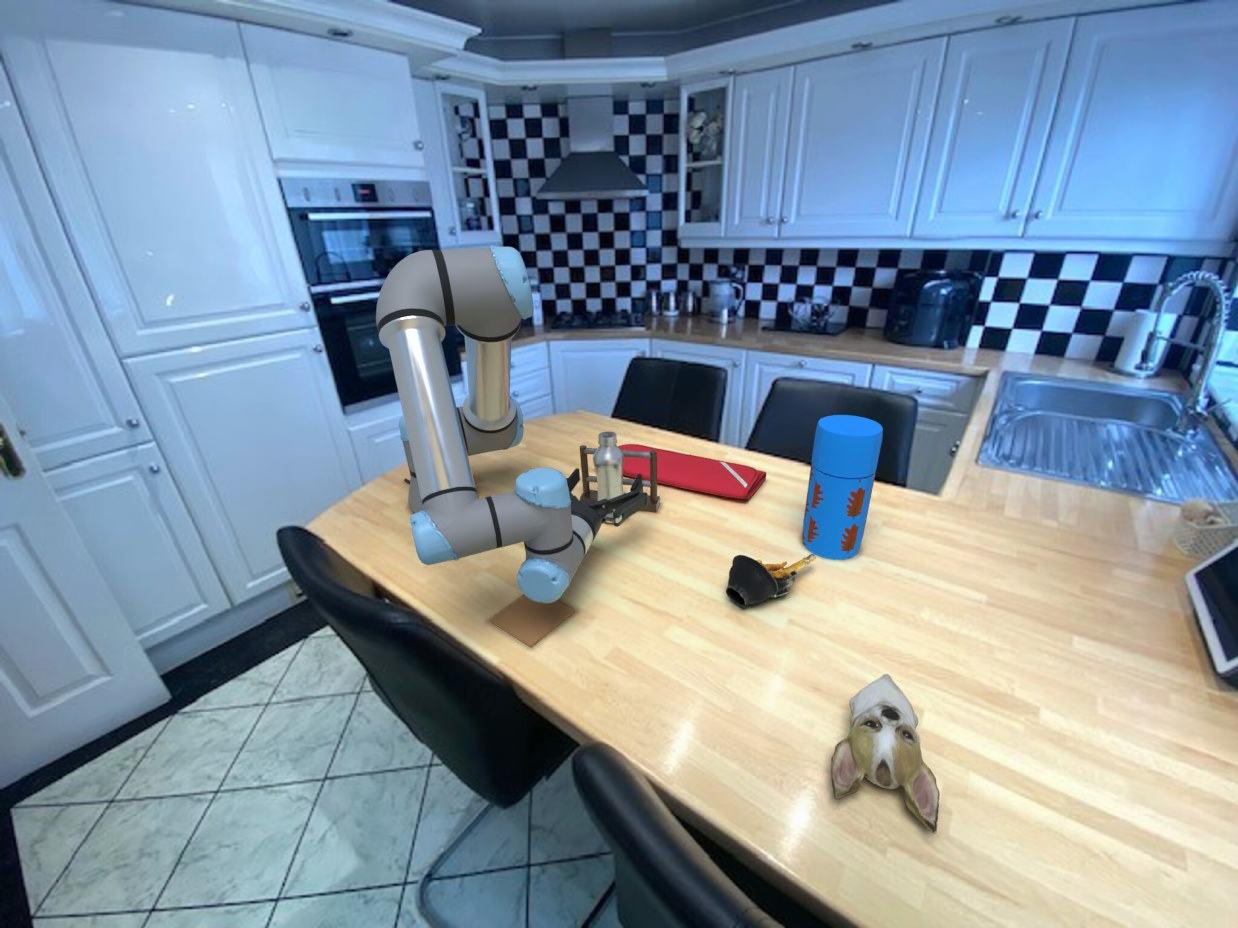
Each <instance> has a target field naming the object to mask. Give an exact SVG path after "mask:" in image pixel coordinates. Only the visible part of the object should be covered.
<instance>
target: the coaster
mask: <svg viewBox="0 0 1238 928" xmlns="http://www.w3.org/2000/svg"><path fill="white" fill-rule="evenodd" d="M575 612H576V609H574V608H572V607H570V606H569V605H567V604H565V603H563V602H561V601H559V599H558V600H556V601H554V602H552V603H541V602H535V601H533V600H531V599H529V598H528V597H527V596H525V595H524V594H522V595H521V596H519V598H517V599H516V600H514V601H513V602H512V603H510V604H509V605H507V606H506V607H505V608H503V609H501V610H500V611H499V612H498V613H497V614H495V615H494V616H492V617H490V618H489V622H490V623H491V624H493V625H494V626H496V627H498V628H499V629H501V630H502V631H504V632H506V634H508V635H510V636H512V637H514V638H515V639H516V640H518V641H520V642H521V643H523V644H524V645H526V646H528V647H529V648H533V647H534V646H535V645H537V644H538V643H539V642H540V641H541V640H543V639H544V638H545V637H546V636H547V635H549V634H550V633H551V632H552V631H553V630H554V629H556V628H557V627H558V626H559V625H560V624H561V623H563V622H564V621H566V619H568V618H569V617H570V616H571V615H572V614H574V613H575Z"/></svg>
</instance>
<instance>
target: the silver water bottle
mask: <svg viewBox="0 0 1238 928" xmlns="http://www.w3.org/2000/svg"><path fill="white" fill-rule="evenodd" d="M597 437H598V438H597V439H598V440H597V444H598V445H599V446H598V447H597V450H596V451H595V453H594V454H592V463H593V468H594V472H595V476H596V477H597V482H596V483H597V490H598V500H597V501H600V500H602V499H608V500H609V499H612V498H614V497H617V496H620V495H623V494H624V493H625V491H624V485H623V479H624V475H623V468H624V455H623V453H622V451H621V450H620V449H619V447H618V446H619V445H617V444H618V439H617V438H618V436H617V433H616V432H615V431H602V432H600V433H598V436H597ZM603 508H604V505H603ZM605 523H608V524H613V522H610V521H606V522H605Z"/></svg>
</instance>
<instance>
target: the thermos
mask: <svg viewBox="0 0 1238 928" xmlns="http://www.w3.org/2000/svg"><path fill="white" fill-rule="evenodd" d="M883 431H884V428H883V426H882V424H881V423H879V422H877V421H876V420H873V419H871V418H867V417H862V416H857V415H850V414H834V415H828V416H827V415H826V416H824V417H821V418H820V419H819V420H818V421H817V424H816V428H815V433H814V440H813V447H812V453H811V454H812V455H811V463H810V470H809V471H810V472H809V477H808V484H807V492H806V500H805V507H804V515H803V523H802V538H801V539H802V544H803V546H804V547H805V549H806V550H807V551H809V552H811V554H814V555H815V556H819V557H821V558H825V559H830V560H833V561H834V560H839V561H841V560H842V561H843V560H848V559H853V558H854V557H855V556H857V555H858V553H859V551H860V548H861V544H862V541H863V537H864V534H865V529H866V524H867V519H868V514H869V509H870V503H871V498H872V493H873V488H874V484H875V479H876V473H877V468H878V462H879V457H880V453H881V447H882V443H883V436H884V435H883V434H884V433H883Z"/></svg>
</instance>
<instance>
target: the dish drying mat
mask: <svg viewBox="0 0 1238 928" xmlns="http://www.w3.org/2000/svg"><path fill="white" fill-rule="evenodd" d="M617 446H618V447H619V449H620V450H626V451H639V452H650V451H651V450H655V451H657V484H660V485H661V484H662V485H666V486H670V487H671V486H672V487H676V488H681V489H685V490H691V491H695V492H701V493H706V494H711V495H716V496H721V497H725V498H733V499H740V500H749V499H751V498H752V497H753V496H754V495H755V493H756V492H757V491H758V489H759V488H760V487H761V485H762V484H763V483H764V482H766V479H767V472H766V471H764V470H759V469H756V468H754V467H752V466H749V465H745V464H741V463H736V462H730V461H725V460H719V459H715V458H709V457H705V456H699V455H694V454H688V453H683V452H678V451H673V450H668V449H662V448H657V447H654V446H653V447H652V446H648V445H644V444H639V443H637V444H636V443H627V444H626V443H625V444H621V445H617ZM638 474H642V480H646V481H650V459H647V458H634V457H624V468H623V476H625V477H631V478H634V479H636V477H637V475H638Z"/></svg>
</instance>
